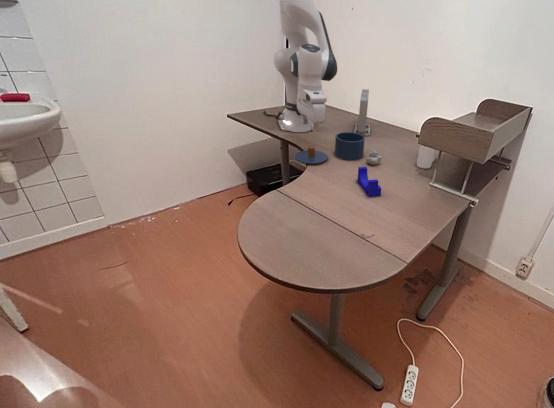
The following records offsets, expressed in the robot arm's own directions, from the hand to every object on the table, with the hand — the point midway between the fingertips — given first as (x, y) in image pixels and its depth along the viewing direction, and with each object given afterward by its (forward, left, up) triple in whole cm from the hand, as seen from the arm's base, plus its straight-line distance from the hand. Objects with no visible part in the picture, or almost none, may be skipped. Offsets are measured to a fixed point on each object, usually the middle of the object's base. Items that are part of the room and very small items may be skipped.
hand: (309, 127), depth 121 cm
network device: (-27, +43, -14) cm, 52 cm away
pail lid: (+1, 0, -13) cm, 13 cm away
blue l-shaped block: (+33, +9, -14) cm, 37 cm away
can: (+25, +43, -14) cm, 52 cm away
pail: (+2, +18, -14) cm, 23 cm away
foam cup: (+20, +50, -14) cm, 56 cm away
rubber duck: (+15, +23, -14) cm, 31 cm away
